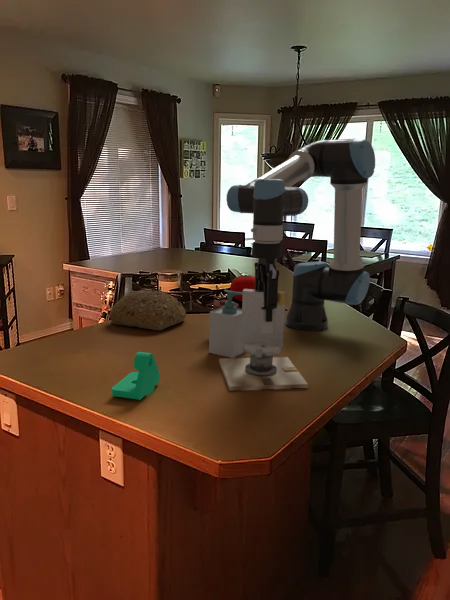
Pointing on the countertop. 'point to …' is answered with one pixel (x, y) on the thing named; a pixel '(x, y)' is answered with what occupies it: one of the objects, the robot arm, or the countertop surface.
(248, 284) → the tomato
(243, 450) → the countertop surface
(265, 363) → the metal spool
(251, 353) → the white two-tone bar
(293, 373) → the board
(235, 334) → the soap bottle
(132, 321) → the bread
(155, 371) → the camera mount
